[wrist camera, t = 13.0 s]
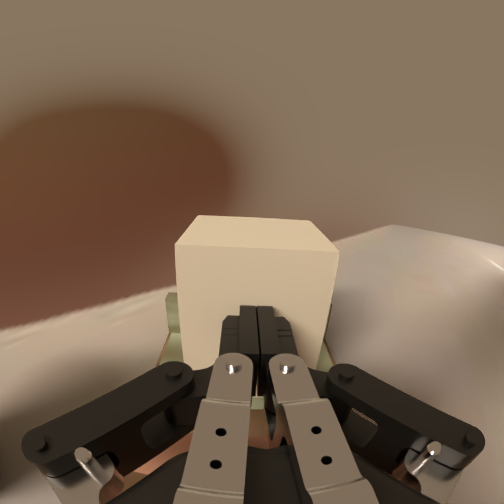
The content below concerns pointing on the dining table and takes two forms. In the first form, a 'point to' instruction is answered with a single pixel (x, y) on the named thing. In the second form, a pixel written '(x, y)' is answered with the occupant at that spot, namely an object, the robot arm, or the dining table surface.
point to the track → (255, 435)
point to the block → (252, 280)
